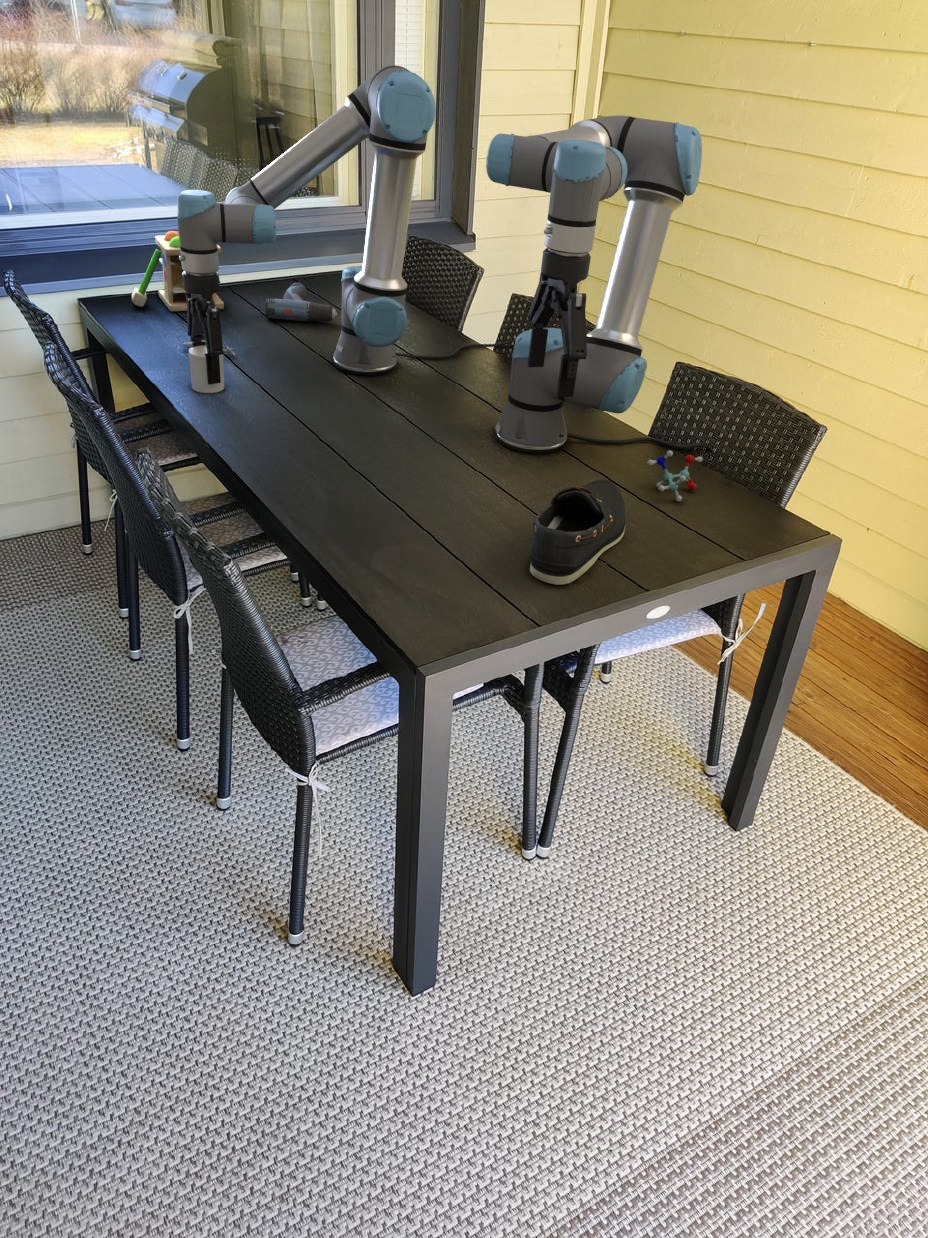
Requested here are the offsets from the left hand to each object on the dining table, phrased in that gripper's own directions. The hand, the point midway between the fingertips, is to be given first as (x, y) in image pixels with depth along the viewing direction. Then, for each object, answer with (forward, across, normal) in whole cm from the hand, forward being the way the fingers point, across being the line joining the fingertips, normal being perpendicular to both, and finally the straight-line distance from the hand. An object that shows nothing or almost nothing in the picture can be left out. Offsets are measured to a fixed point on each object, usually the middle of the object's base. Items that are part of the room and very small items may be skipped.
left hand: (207, 376), depth 217 cm
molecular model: (+2, +83, +62) cm, 104 cm away
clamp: (+2, -20, +8) cm, 22 cm away
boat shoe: (+2, +91, +32) cm, 97 cm away
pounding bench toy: (+2, -59, +14) cm, 60 cm away
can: (+2, 0, 0) cm, 2 cm away
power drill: (+2, -40, +44) cm, 59 cm away
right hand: (-24, +81, +30) cm, 89 cm away
